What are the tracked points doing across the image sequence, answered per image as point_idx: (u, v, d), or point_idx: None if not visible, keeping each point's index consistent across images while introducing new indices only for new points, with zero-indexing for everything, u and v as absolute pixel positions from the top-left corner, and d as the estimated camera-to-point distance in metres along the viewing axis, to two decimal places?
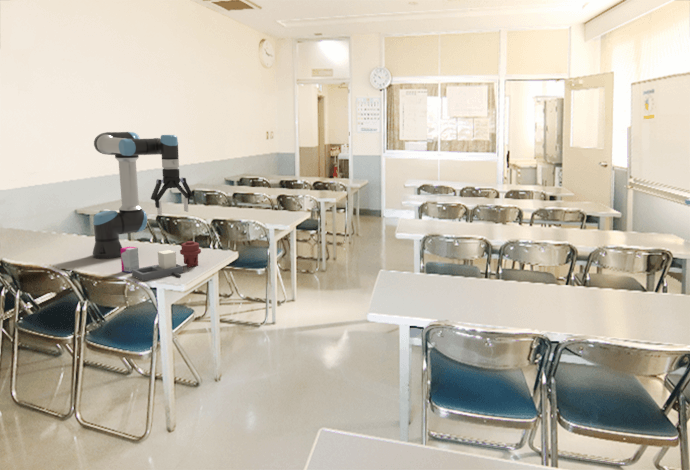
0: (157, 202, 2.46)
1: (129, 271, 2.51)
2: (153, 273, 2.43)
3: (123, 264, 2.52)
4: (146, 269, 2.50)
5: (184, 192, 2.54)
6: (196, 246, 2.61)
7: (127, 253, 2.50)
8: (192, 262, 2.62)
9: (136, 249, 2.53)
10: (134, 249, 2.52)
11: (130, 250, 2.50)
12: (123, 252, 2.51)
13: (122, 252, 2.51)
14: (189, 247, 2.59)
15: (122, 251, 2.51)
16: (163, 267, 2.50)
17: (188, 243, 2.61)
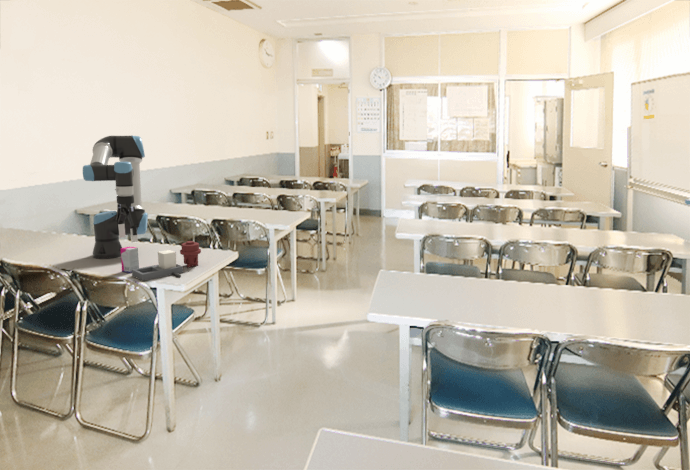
0: None
1: (129, 271, 2.51)
2: (153, 273, 2.43)
3: (123, 264, 2.52)
4: (146, 269, 2.50)
5: (129, 221, 2.45)
6: (196, 246, 2.61)
7: (127, 253, 2.50)
8: (192, 262, 2.62)
9: (136, 249, 2.53)
10: (134, 249, 2.52)
11: (130, 250, 2.50)
12: (123, 252, 2.51)
13: (122, 252, 2.51)
14: (189, 247, 2.59)
15: (122, 251, 2.51)
16: (163, 267, 2.50)
17: (188, 243, 2.61)
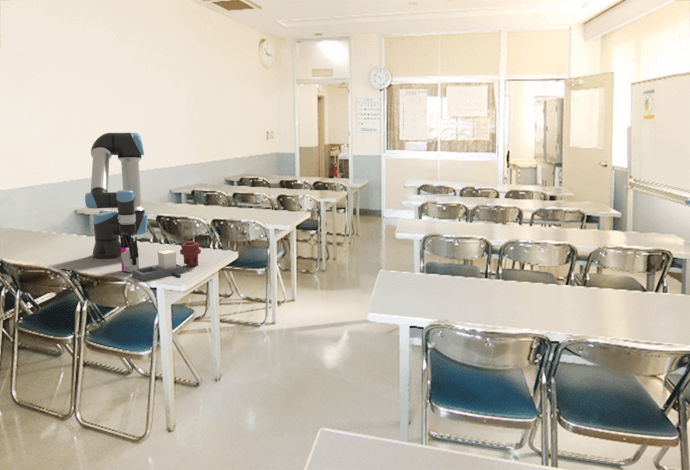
0: None
1: (129, 271, 2.51)
2: (153, 273, 2.43)
3: (123, 264, 2.52)
4: (146, 269, 2.50)
5: (130, 251, 2.49)
6: (196, 246, 2.61)
7: (127, 253, 2.50)
8: (192, 262, 2.62)
9: None
10: None
11: None
12: (123, 252, 2.51)
13: (122, 252, 2.51)
14: (189, 247, 2.59)
15: (122, 251, 2.51)
16: (163, 267, 2.50)
17: (188, 243, 2.61)
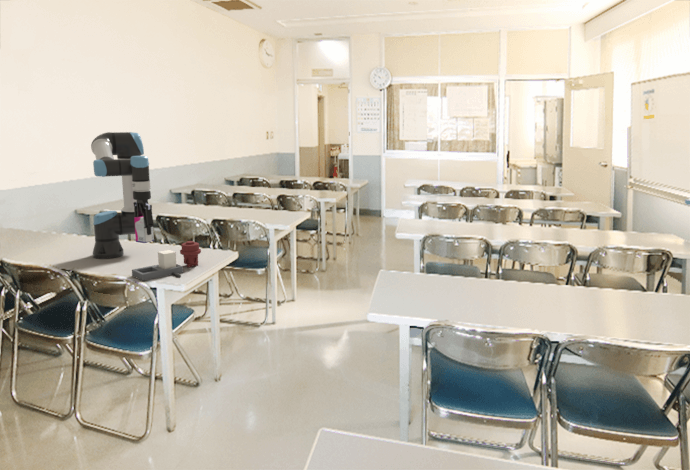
0: None
1: (143, 241, 2.40)
2: (153, 273, 2.43)
3: (137, 234, 2.41)
4: (146, 269, 2.50)
5: (144, 220, 2.38)
6: (196, 246, 2.61)
7: (141, 222, 2.38)
8: (192, 262, 2.62)
9: None
10: None
11: None
12: (137, 221, 2.39)
13: (136, 221, 2.40)
14: (189, 247, 2.59)
15: (136, 220, 2.39)
16: (163, 267, 2.50)
17: (188, 243, 2.61)
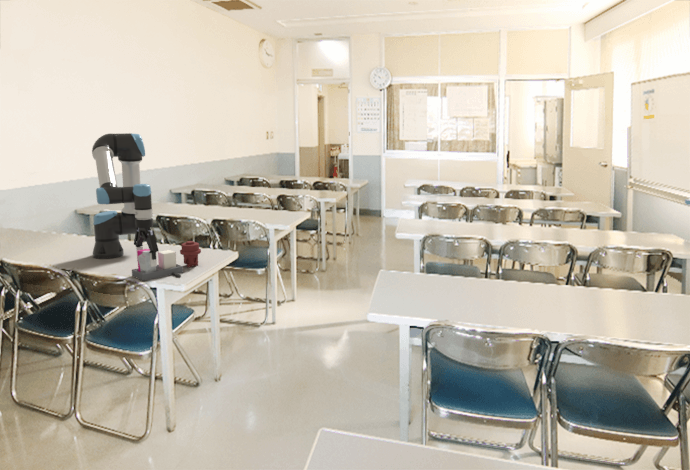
0: None
1: None
2: (153, 273, 2.43)
3: (140, 267, 2.44)
4: None
5: (148, 246, 2.39)
6: (196, 246, 2.61)
7: (144, 256, 2.42)
8: (192, 262, 2.62)
9: None
10: None
11: (147, 253, 2.42)
12: (140, 255, 2.43)
13: (139, 254, 2.43)
14: (189, 247, 2.59)
15: (139, 253, 2.43)
16: (163, 267, 2.50)
17: (188, 243, 2.61)
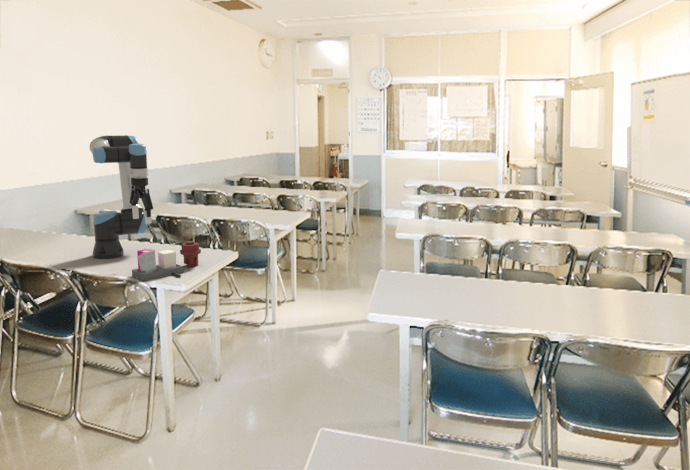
0: None
1: None
2: (153, 273, 2.43)
3: (140, 267, 2.44)
4: None
5: (143, 203, 2.48)
6: (196, 246, 2.61)
7: (144, 256, 2.42)
8: (192, 262, 2.62)
9: (153, 252, 2.45)
10: (151, 252, 2.44)
11: (147, 253, 2.42)
12: (140, 255, 2.43)
13: (139, 254, 2.43)
14: (189, 247, 2.59)
15: (139, 253, 2.43)
16: (163, 267, 2.50)
17: (188, 243, 2.61)
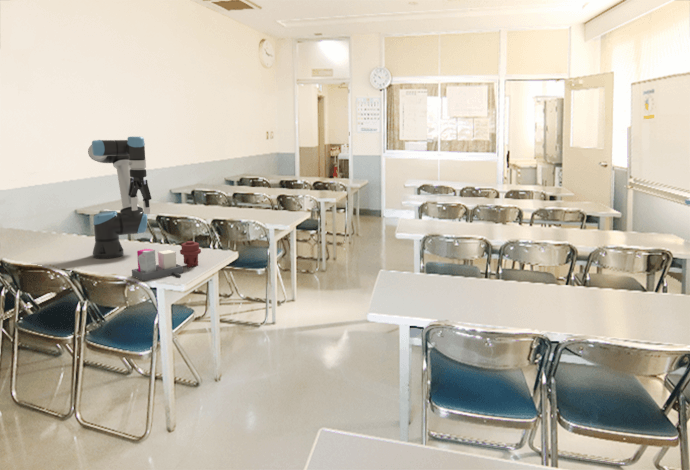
0: None
1: None
2: (153, 273, 2.43)
3: (140, 267, 2.44)
4: None
5: (142, 194, 2.54)
6: (196, 246, 2.61)
7: (144, 256, 2.42)
8: (192, 262, 2.62)
9: (153, 252, 2.45)
10: (151, 252, 2.44)
11: (147, 253, 2.42)
12: (140, 255, 2.43)
13: (139, 254, 2.43)
14: (189, 247, 2.59)
15: (139, 253, 2.43)
16: (163, 267, 2.50)
17: (188, 243, 2.61)
